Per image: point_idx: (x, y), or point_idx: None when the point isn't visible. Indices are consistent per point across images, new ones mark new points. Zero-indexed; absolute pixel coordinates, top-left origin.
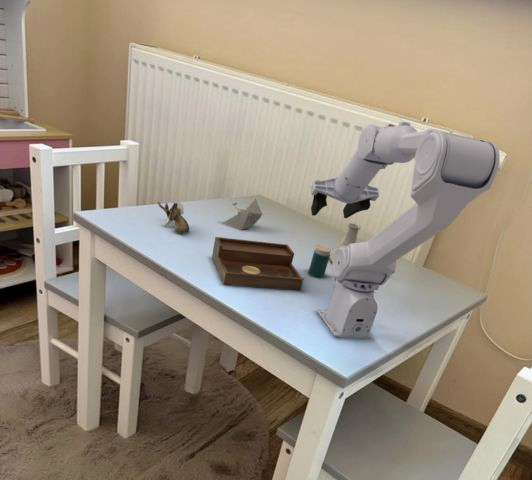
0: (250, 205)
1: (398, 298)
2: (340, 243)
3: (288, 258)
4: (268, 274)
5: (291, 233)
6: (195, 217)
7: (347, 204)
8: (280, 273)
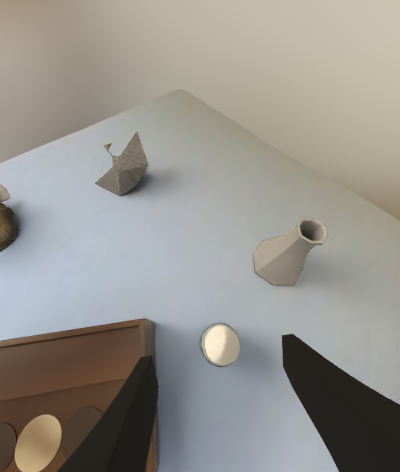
0: (123, 153)
1: None
2: (274, 247)
3: None
4: None
5: (202, 180)
6: (57, 178)
7: (308, 368)
8: None
